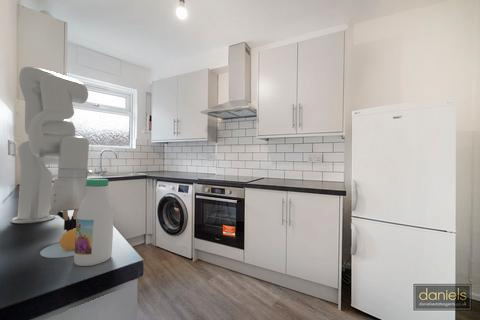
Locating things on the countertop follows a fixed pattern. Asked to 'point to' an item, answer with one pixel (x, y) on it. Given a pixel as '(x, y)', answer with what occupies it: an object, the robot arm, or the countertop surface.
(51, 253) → the disc
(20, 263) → the countertop surface
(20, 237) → the countertop surface
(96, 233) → the milk bottle
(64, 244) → the ball
